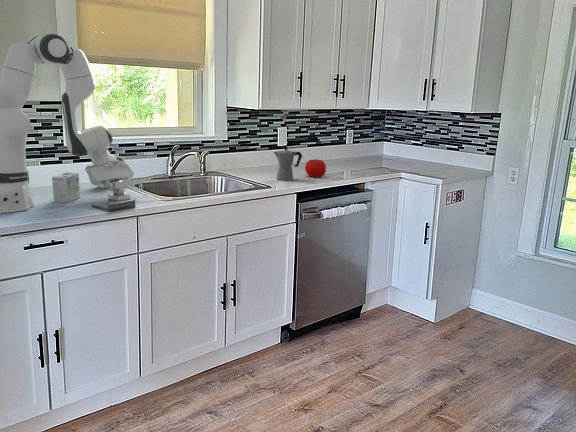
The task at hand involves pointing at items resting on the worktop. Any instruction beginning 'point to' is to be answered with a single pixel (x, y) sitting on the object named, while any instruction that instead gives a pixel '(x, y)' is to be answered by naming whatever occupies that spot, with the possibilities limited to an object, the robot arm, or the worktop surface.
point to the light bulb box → (66, 187)
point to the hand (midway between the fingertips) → (119, 189)
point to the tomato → (315, 168)
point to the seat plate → (115, 205)
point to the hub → (118, 191)
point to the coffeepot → (286, 164)
